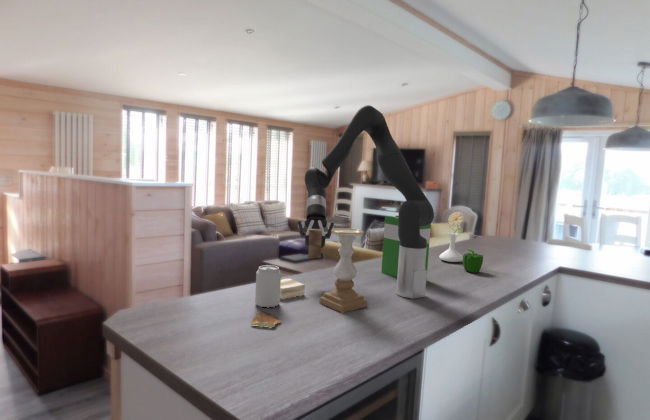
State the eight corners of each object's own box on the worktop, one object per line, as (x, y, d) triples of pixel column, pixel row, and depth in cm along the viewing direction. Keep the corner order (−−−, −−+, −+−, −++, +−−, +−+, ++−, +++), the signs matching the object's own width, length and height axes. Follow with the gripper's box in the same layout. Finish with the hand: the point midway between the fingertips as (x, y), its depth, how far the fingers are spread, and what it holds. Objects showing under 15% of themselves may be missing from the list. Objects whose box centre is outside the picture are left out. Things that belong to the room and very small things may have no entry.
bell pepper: (486, 273, 184) (488, 251, 183) (471, 274, 181) (473, 251, 180) (473, 269, 192) (474, 247, 191) (458, 269, 189) (460, 247, 188)
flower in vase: (434, 258, 210) (438, 209, 207) (454, 258, 213) (458, 209, 210) (449, 265, 197) (453, 212, 195) (470, 264, 201) (474, 212, 198)
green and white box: (381, 272, 176) (385, 216, 174) (393, 270, 181) (397, 215, 178) (414, 282, 163) (419, 221, 160) (426, 280, 167) (431, 221, 165)
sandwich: (260, 314, 122) (260, 308, 122) (286, 316, 121) (286, 310, 121) (249, 328, 111) (249, 321, 111) (277, 331, 110) (278, 324, 110)
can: (256, 309, 124) (257, 270, 123) (253, 301, 131) (255, 264, 130) (281, 308, 126) (283, 269, 125) (277, 300, 133) (279, 263, 132)
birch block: (304, 296, 140) (304, 284, 140) (281, 300, 134) (282, 288, 134) (288, 289, 147) (289, 278, 147) (266, 293, 141) (267, 281, 141)
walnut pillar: (320, 255, 154) (321, 228, 153) (320, 258, 150) (321, 230, 149) (308, 255, 154) (309, 228, 153) (308, 257, 149) (309, 229, 149)
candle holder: (318, 302, 133) (322, 228, 131) (344, 297, 140) (348, 226, 138) (342, 313, 125) (346, 234, 122) (367, 306, 132) (372, 231, 129)
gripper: (297, 202, 157) (294, 239, 146) (335, 204, 158) (335, 241, 147) (297, 215, 163) (295, 251, 152) (334, 216, 163) (334, 253, 152)
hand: (315, 246), depth 149 cm, fingers closed on walnut pillar, 4 cm apart
